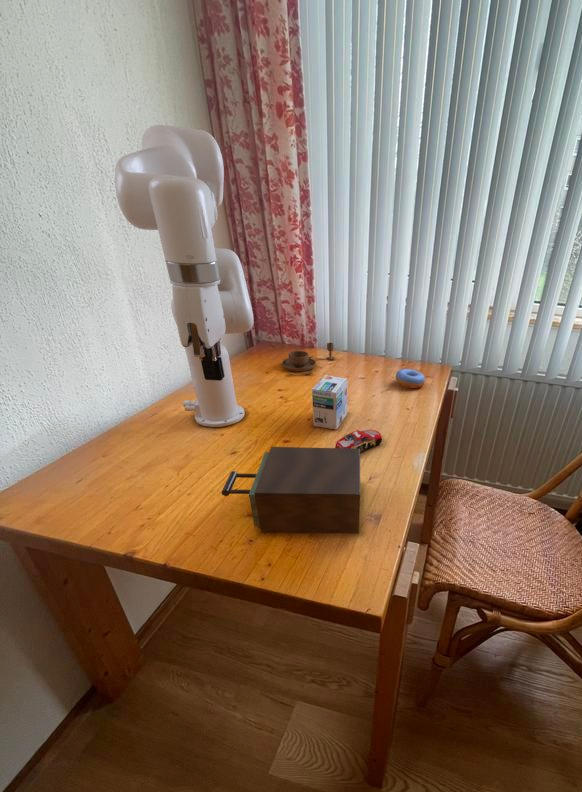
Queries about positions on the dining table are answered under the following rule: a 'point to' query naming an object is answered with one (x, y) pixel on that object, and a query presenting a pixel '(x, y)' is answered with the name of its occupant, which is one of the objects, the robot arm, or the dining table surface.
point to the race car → (360, 440)
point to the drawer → (230, 483)
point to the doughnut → (410, 378)
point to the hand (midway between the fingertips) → (214, 378)
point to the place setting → (303, 361)
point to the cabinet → (309, 491)
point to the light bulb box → (329, 402)
